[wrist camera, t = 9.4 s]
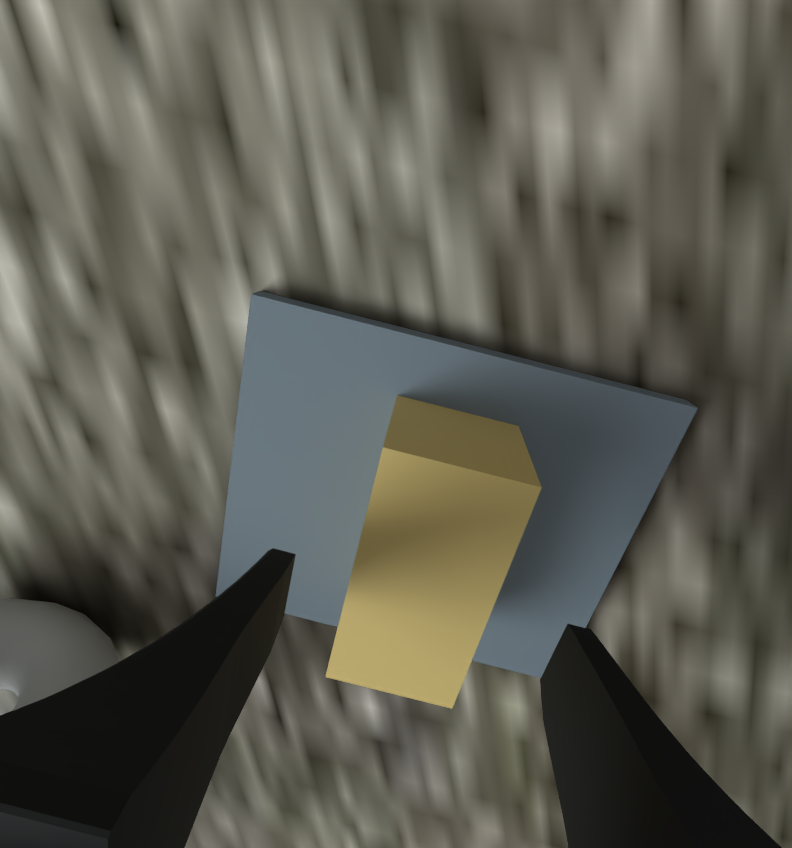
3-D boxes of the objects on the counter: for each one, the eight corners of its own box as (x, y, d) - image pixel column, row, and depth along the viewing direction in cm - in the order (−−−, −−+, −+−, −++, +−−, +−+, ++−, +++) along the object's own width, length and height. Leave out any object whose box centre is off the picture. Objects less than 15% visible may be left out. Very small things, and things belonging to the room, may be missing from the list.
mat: (685, 399, 16) (698, 408, 15) (553, 665, 20) (557, 682, 20) (260, 290, 16) (251, 294, 15) (223, 582, 20) (215, 596, 19)
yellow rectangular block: (450, 613, 19) (452, 709, 15) (348, 587, 19) (325, 677, 15) (518, 425, 16) (541, 487, 12) (397, 395, 16) (382, 447, 12)
